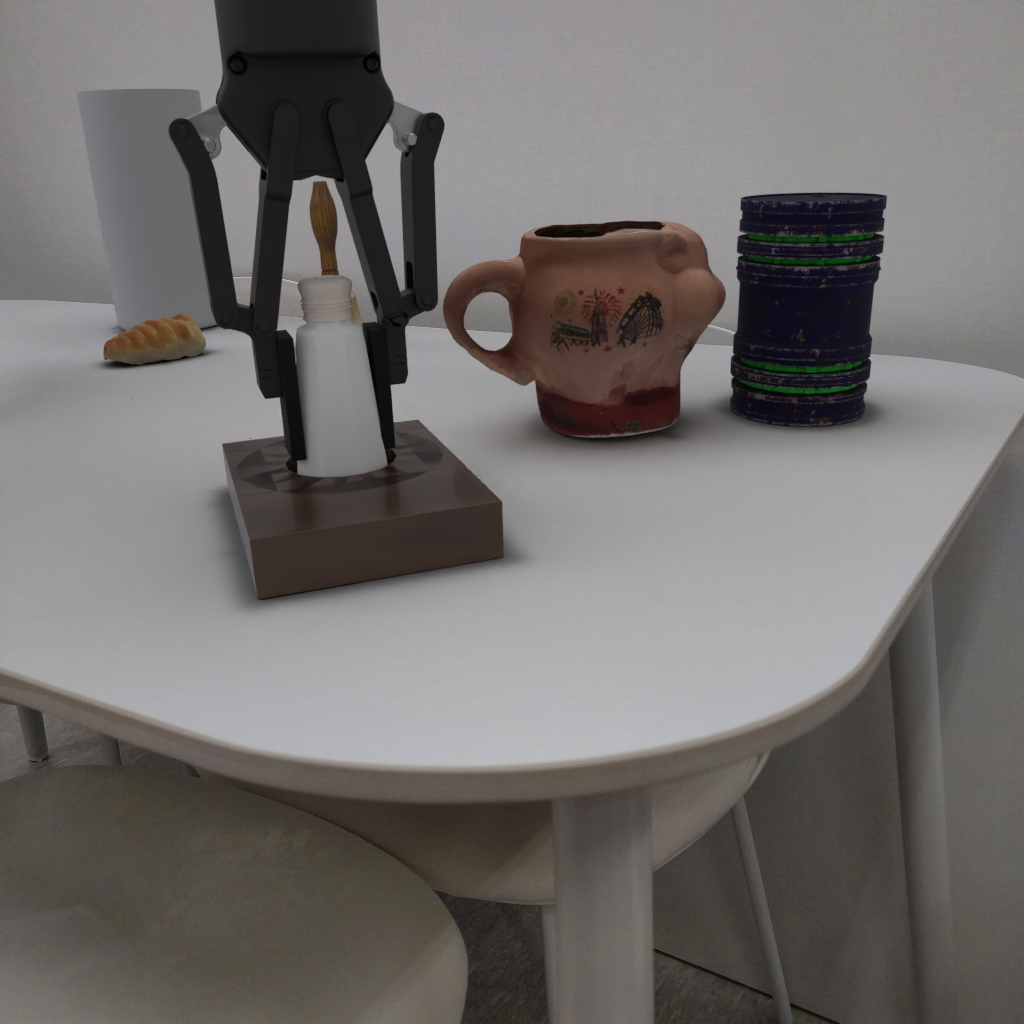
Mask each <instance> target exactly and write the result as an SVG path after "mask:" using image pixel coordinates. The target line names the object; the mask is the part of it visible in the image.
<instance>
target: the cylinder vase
mask: <svg viewBox="0 0 1024 1024" xmlns="http://www.w3.org/2000/svg"><path fill="white" fill-rule="evenodd" d="M76 99H77V103H78V109H79V114H80V121H81V125H82V132H83V137H84V143H85V148H86V154H87V160H88V164H89V165H88V167H89V171H90V176H91V182H92V189H93V193H94V200H95V206H96V211H97V216H98V222H99V227H100V233H101V240H102V244H103V250H104V255H105V261H106V267H107V274H108V277H109V278H108V279H109V283H110V290H111V297H112V300H113V306H114V312H115V318H116V322H117V325H118V326H119V327H120V328H122V330H124V331H126V330H129V329H131V328H132V327H133V326H135V325H137V324H140V323H142V322H144V321H146V320H150V319H163V318H170V317H171V316H176V315H178V314H186V315H189V316H191V317H192V318H193V319H194V320H195V322H196V325H197V326H198V327H199V328H200V330H202V329H207V328H210V327H211V328H212V327H214V326H218V325H217V323H216V322H215V319H214V317H213V315H212V312H211V307H210V301H209V295H208V289H207V283H206V278H205V272H204V266H203V260H202V254H201V248H200V243H199V237H198V231H197V225H196V219H195V213H194V208H193V202H192V196H191V190H190V184H189V178H188V173H187V170H186V168H185V166H184V164H183V163H182V161H181V159H180V157H179V155H178V153H177V151H176V150H175V148H174V146H173V144H172V142H171V140H170V139H169V136H168V126H169V124H170V123H171V122H172V121H174V120H175V119H178V118H184V119H185V118H188V117H190V116H192V115H195V114H197V113H199V112H201V111H203V109H202V101H201V94H200V90H199V89H189V88H188V89H187V88H186V89H185V88H119V89H115V88H113V89H97V90H96V89H95V90H83V91H78V92H76Z"/></svg>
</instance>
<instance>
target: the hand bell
mask: <svg viewBox="0 0 1024 1024" xmlns="http://www.w3.org/2000/svg"><path fill="white" fill-rule="evenodd" d="M309 218H310V225H311V229H312V233H313V236H314V238H315V241H316V243H317V246H318V251H319V256H320V257H319V258H320V269H321V275H320V276H325V275H338V276H340V271H339V270H338V269H339V266H338V260H337V252H336V251H337V250H336V244H337V238H338V227H339V223H338V213H337V207H336V204H335V201H334V198H333V196H332V194H331V190H330V188H329V186H328V182H327V181H326V180H316V181H315V180H314V181H313V182H312V191H311V194H310V201H309ZM350 296H351V297H352V300H351V301H352V305H353V307H352V308H351V311H352V313H353V317H352V318H351V321H355V322H358V323H360V324H361V326H362V323H365V322H364V320H363V317H362V315H361V312H360V309H359V305H358V300H357V295H356V293H355V292H354V291H352V290H351V295H350Z"/></svg>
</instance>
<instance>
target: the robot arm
mask: <svg viewBox="0 0 1024 1024" xmlns="http://www.w3.org/2000/svg"><path fill="white" fill-rule="evenodd" d="M213 3H214V10H215V19H216V26H217V27H216V28H217V36H218V43H219V50H220V51H219V52H220V58H221V59H220V60H221V67H222V68H221V69H222V74H221V75H222V76H221V82H220V84H219V88H218V90H217V93H216V96H215V104H214V105H211V107H210V106H209V107H207V108H205V109H204V110H203V109H202V111H201V112H199V113H197V114H195V115H192V116H190V117H188V118H185V119H184V118H178V119H175V120H174V121H172V122H171V123H170V124H169V126H168V136H169V139H170V140H171V142H172V144H173V146H174V148H175V150H176V151H177V153H178V155H179V157H180V159H181V161H182V163H183V164H184V166H185V168H186V170H187V173H188V178H189V184H190V190H191V196H192V202H193V208H194V213H195V219H196V225H197V231H198V237H199V243H200V248H201V254H202V260H203V266H204V272H205V278H206V283H207V289H208V295H209V301H210V307H211V312H212V315H213V317H214V319H215V322H216V323H217V325H216V326H218V327H219V328H221V329H223V330H231V331H236V332H240V333H243V334H245V335H247V336H248V337H249V338H250V339H251V346H252V347H251V348H252V354H253V362H254V370H255V378H256V379H255V380H256V385H257V387H258V389H259V391H260V393H261V394H262V396H263V398H264V399H265V400H269V399H279V403H280V410H281V420H282V421H281V422H282V429H283V436H284V438H285V446H286V449H287V451H288V453H289V455H290V457H291V459H292V461H300V460H307V458H306V449H305V440H304V431H303V422H302V413H301V404H300V395H299V386H298V377H297V368H296V349H295V342H294V338H293V337H292V335H291V334H290V333H289V331H288V330H287V329H278V325H279V316H280V315H279V313H280V306H281V305H280V304H281V295H282V283H283V274H284V266H285V265H284V264H285V254H286V243H287V242H286V241H287V233H288V232H287V231H288V224H289V212H290V204H291V201H292V196H293V187H294V181H303V180H307V179H309V178H312V177H315V176H317V177H320V178H321V177H322V178H325V179H331V180H333V182H334V185H335V188H336V191H337V194H338V195H339V197H340V200H341V203H342V206H343V210H344V213H345V216H346V221H347V223H348V227H349V230H350V234H351V236H352V240H353V244H354V247H355V250H356V254H357V258H358V261H359V265H360V267H361V272H362V274H363V278H364V282H365V284H366V289H367V292H368V294H369V298H370V302H371V305H372V310H373V311H374V312H373V313H374V314H375V316H376V321H369V322H364V323H362V329H363V334H364V339H365V344H366V349H367V355H368V360H369V366H370V371H371V376H372V382H373V387H374V393H375V398H376V404H377V409H378V415H379V420H380V430H381V437H382V441H383V445H384V449H391V448H396V446H395V433H394V422H395V421H394V409H393V395H392V385H393V386H394V385H402V384H403V385H405V384H406V383H407V379H408V376H409V365H408V352H407V335H406V329H407V328H406V327H407V326H408V325H409V323H410V320H411V319H412V318H414V317H416V316H418V315H420V314H422V313H425V312H428V313H429V312H431V311H434V309H436V308H437V306H438V303H439V283H438V282H439V280H438V248H437V247H438V246H437V245H438V244H437V216H436V215H437V214H436V211H437V210H436V180H435V179H436V178H435V176H436V175H435V161H436V158H437V155H438V152H439V148H440V145H441V141H442V139H443V135H444V131H445V127H446V126H445V125H446V124H445V120H444V118H443V117H442V115H440V113H437V112H434V111H432V112H423V111H419V110H417V109H415V108H412V107H410V106H408V105H405V104H403V103H400V102H397V101H395V97H394V94H393V91H392V89H391V87H390V86H389V84H388V83H387V81H386V78H385V76H384V73H383V68H382V57H381V56H382V55H381V45H380V42H381V41H380V29H379V15H378V13H379V12H378V0H213ZM387 124H388V125H389V126H390V128H391V130H392V141H393V145H394V147H395V148H396V149H397V150H398V151H399V152H401V154H400V160H399V161H400V162H399V163H400V165H399V176H400V177H399V178H400V180H399V181H400V201H401V203H400V204H401V226H402V227H401V228H402V248H403V249H402V251H403V269H404V270H403V274H404V275H403V277H404V289H403V290H401V289H400V287H399V283H398V279H397V276H396V272H395V268H394V265H393V262H392V257H391V254H390V250H389V247H388V243H387V240H386V237H385V233H384V230H383V226H382V222H381V219H380V215H379V212H378V208H377V205H376V202H375V197H374V187H373V183H372V180H371V179H372V178H371V176H370V172H369V169H368V166H367V162H366V160H367V158H368V157H369V155H370V154H371V152H372V150H373V148H374V146H375V145H376V142H378V140H379V138H380V136H381V134H382V133H383V131H384V129H385V127H386V125H387ZM225 127H227V128H228V129H229V131H230V132H231V134H233V135H234V137H235V138H236V139H237V140H238V141H239V142H240V144H241V145H242V146H243V147H244V149H245V150H246V151H247V152H248V153H249V154H250V156H251V157H252V158H253V159H254V161H255V162H256V163H257V164H258V165H259V167H260V170H259V182H258V202H257V203H258V206H257V213H256V214H257V215H256V226H255V227H256V228H255V237H254V250H253V259H252V273H251V283H250V294H249V295H250V296H249V303H248V305H246V304H243V303H239V302H238V299H237V294H236V286H235V280H234V274H233V268H232V262H231V255H230V249H229V244H228V237H227V230H226V225H225V219H224V212H223V206H222V199H221V193H220V187H219V181H218V177H217V172H216V169H215V165H214V162H213V160H214V159H216V158H217V157H219V155H220V154H221V153H222V142H221V132H222V130H223V129H224V128H225Z"/></svg>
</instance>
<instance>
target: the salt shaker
mask: <svg viewBox="0 0 1024 1024" xmlns="http://www.w3.org/2000/svg"><path fill="white" fill-rule="evenodd" d="M352 288H353V281H352V280H351V278H350V277H346V276H344V275H339V276H338V275H325V276H322V275H315V276H307V277H304V278H302V279H301V280H299V281H298V283H297V290H298V292H299V296H300V297H301V299H300V303H301V304H300V306H301V310H302V311H303V316H302V320H303V321H304V322H305V323H304V324H300V325H299V326H297V328H296V330H295V359H296V368H297V377H298V386H299V395H300V404H301V413H302V422H303V431H304V440H305V449H306V458H307V460H300V461H297V462H298V474H299V475H305V476H313V477H343V476H350V475H358V474H364V473H367V472H371V471H374V470H378V469H381V468H383V467H385V466H387V465H388V464H387V459H386V453H385V449H384V445H383V441H382V437H381V430H380V420H379V415H378V409H377V404H376V398H375V393H374V387H373V382H372V376H371V371H370V366H369V360H368V355H367V349H366V344H365V339H364V334H363V329H362V326H361V324H360V323H358V322H355V321H351V318H352V317H353V313H352V311H351V308H352V307H353V305H352V301H351V300H352V297H351V296H350V295H351V291H352Z"/></svg>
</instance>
